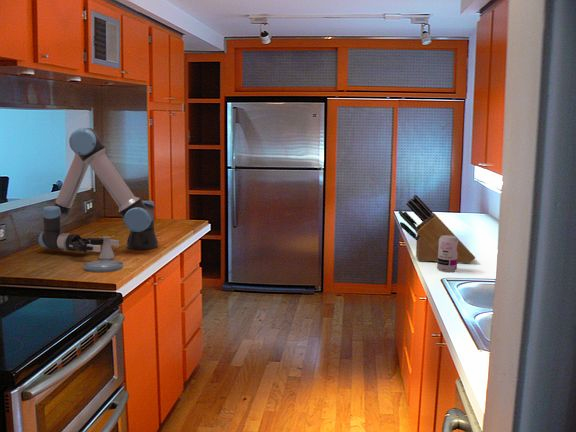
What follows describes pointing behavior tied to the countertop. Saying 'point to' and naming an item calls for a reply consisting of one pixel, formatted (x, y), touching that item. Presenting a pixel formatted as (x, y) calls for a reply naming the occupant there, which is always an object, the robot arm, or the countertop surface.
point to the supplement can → (447, 253)
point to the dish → (103, 266)
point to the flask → (106, 250)
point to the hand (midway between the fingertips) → (109, 246)
